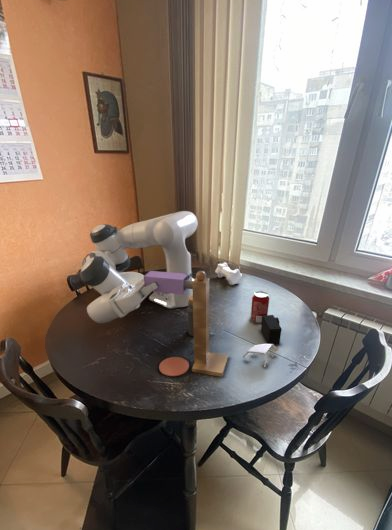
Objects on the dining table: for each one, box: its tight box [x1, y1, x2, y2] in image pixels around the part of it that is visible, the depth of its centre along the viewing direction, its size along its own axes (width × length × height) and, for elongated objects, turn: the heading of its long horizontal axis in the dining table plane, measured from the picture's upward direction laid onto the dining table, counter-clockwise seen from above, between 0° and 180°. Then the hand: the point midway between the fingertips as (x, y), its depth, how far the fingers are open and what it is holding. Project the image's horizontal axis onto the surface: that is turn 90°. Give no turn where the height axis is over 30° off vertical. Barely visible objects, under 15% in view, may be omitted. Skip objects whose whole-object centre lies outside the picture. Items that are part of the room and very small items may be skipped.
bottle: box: [186, 295, 194, 337], centre depth 115 cm, size 6×6×15 cm
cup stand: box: [183, 270, 229, 378], centre depth 93 cm, size 18×10×33 cm, turn 74°
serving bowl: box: [119, 271, 145, 286], centre depth 151 cm, size 21×21×7 cm
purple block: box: [144, 270, 188, 295], centre depth 89 cm, size 12×5×5 cm, turn 74°
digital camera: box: [260, 314, 283, 346], centre depth 113 cm, size 10×5×7 cm, turn 5°
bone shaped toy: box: [214, 261, 243, 286], centre depth 161 cm, size 15×9×8 cm, turn 27°
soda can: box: [249, 290, 270, 324], centre depth 123 cm, size 7×7×12 cm
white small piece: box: [242, 343, 279, 368], centre depth 101 cm, size 12×8×5 cm
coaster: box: [158, 356, 190, 378], centre depth 100 cm, size 10×10×1 cm
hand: (160, 280), depth 89 cm, fingers closed on purple block, 4 cm apart
